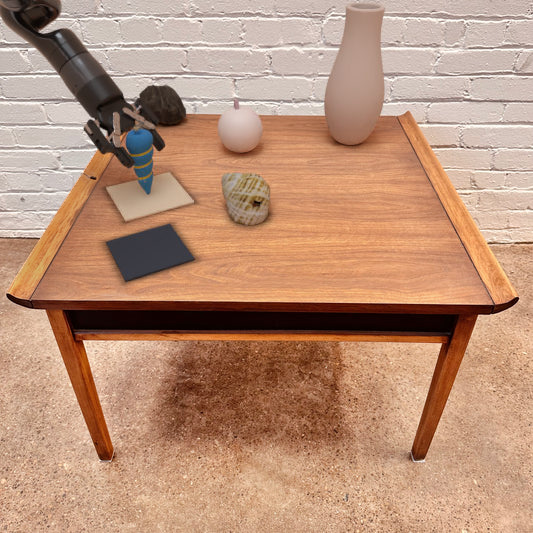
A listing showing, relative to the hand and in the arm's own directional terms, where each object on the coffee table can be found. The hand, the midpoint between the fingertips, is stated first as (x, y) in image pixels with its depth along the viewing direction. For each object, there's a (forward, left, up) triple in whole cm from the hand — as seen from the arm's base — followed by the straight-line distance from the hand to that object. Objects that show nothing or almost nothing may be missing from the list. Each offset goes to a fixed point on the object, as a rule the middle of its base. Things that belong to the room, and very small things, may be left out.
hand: (147, 157), depth 92 cm
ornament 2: (+25, +11, -9) cm, 29 cm away
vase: (+51, +3, -9) cm, 52 cm away
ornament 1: (-1, +1, -9) cm, 9 cm away
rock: (+15, +36, -9) cm, 40 cm away
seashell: (+14, -13, -9) cm, 21 cm away
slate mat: (-7, -17, -9) cm, 20 cm away
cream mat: (-1, +1, -9) cm, 9 cm away
